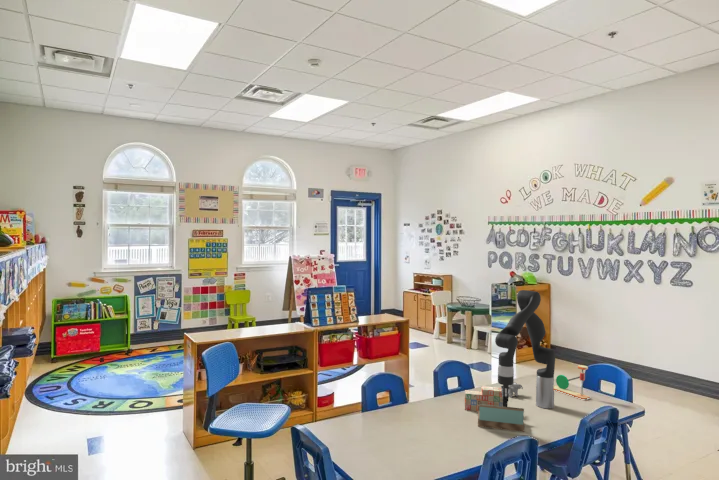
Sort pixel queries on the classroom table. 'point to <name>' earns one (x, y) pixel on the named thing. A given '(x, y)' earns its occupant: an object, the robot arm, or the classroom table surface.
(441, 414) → the classroom table surface
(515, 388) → the gray elephant figurine
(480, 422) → the cart bed
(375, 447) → the classroom table surface
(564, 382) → the crank mechanism
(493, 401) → the stack of blocks
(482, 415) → the tailgate
